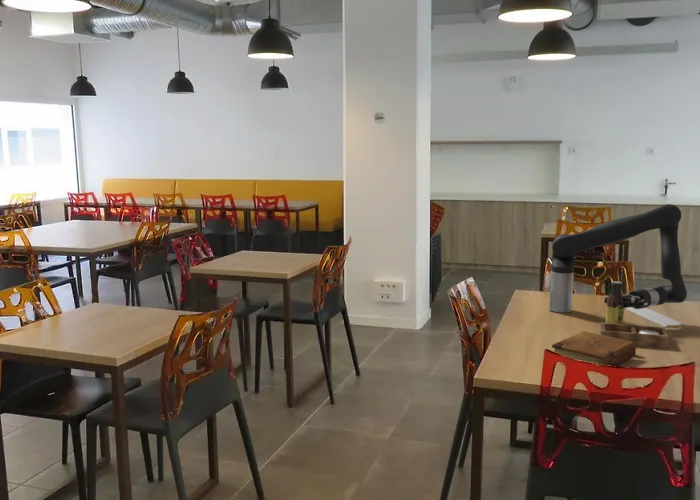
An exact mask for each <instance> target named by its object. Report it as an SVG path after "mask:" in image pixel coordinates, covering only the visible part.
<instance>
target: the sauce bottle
mask: <svg viewBox="0 0 700 500" xmlns="http://www.w3.org/2000/svg"><path fill="white" fill-rule="evenodd" d="M610 287H611V288H610V293H609V294H610V296H609V295H608V296H609V297H608V296H607V297H608V298H607V303H606V306H605V307H606V309H605V310H606V311H605V322H604V323H612V324H624V313H625V308H623V307H622V303H623V302H624V301H623V298H622V295H623V294H622V293H623V292H622V289H623V282H622V281H617V280H616V281H611V282H610Z"/></svg>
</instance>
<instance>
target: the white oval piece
mask: <svg viewBox="0 0 700 500" xmlns="http://www.w3.org/2000/svg"><path fill="white" fill-rule="evenodd" d="M639 333H642V334H654V335H659V333H658V332H656V331H651V330H641V331H639Z"/></svg>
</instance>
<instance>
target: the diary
mask: <svg viewBox="0 0 700 500" xmlns="http://www.w3.org/2000/svg"><path fill="white" fill-rule="evenodd" d="M552 348H553V349H554V351H553V353H554V352H557V353H559V354H561V355H565V356H568V357H571V358H574V359H577V360H582V361H587V362H593V363H598V364H603V365H611V366H616V367H617V366H620V365H621V364H623V363H625V362H627V361H629V360H630V359H632V358H633V357H634V356H635V355H636V351H637V350H636V349H637V346H636V344H635V343H634V342H633V341H628V340H623V339H618V338H614V337H609V336H604V335H600V333H593V332H589V331H585V330H584V331H581V332H579V333H577V334H574V335H572V336H569V337H567V338H566V339H563V340H560V341H558V342H556V343H555V342H554V344H552V345H551V349H552ZM626 360H627V361H626Z"/></svg>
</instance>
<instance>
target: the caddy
mask: <svg viewBox="0 0 700 500" xmlns="http://www.w3.org/2000/svg"><path fill="white" fill-rule="evenodd" d="M641 330H651V331H656V332H658V333H659V335H654V334H642V333H639V331H641ZM599 335H604V336H609V337H614V338H618V339H623V340H628V341H633V342H634V343H635V344H636V347H637V346H638V347H647V348H648V347H649V348H657V349H659V348H661V349H669V344H670V343H669V342H670V335H669V333H668V331H667V330H666V327H663V326H661V327H660V326H649V325H635V324H634V325H633V324H624V323H623V324H612V323H605V322H600V332H599Z"/></svg>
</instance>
